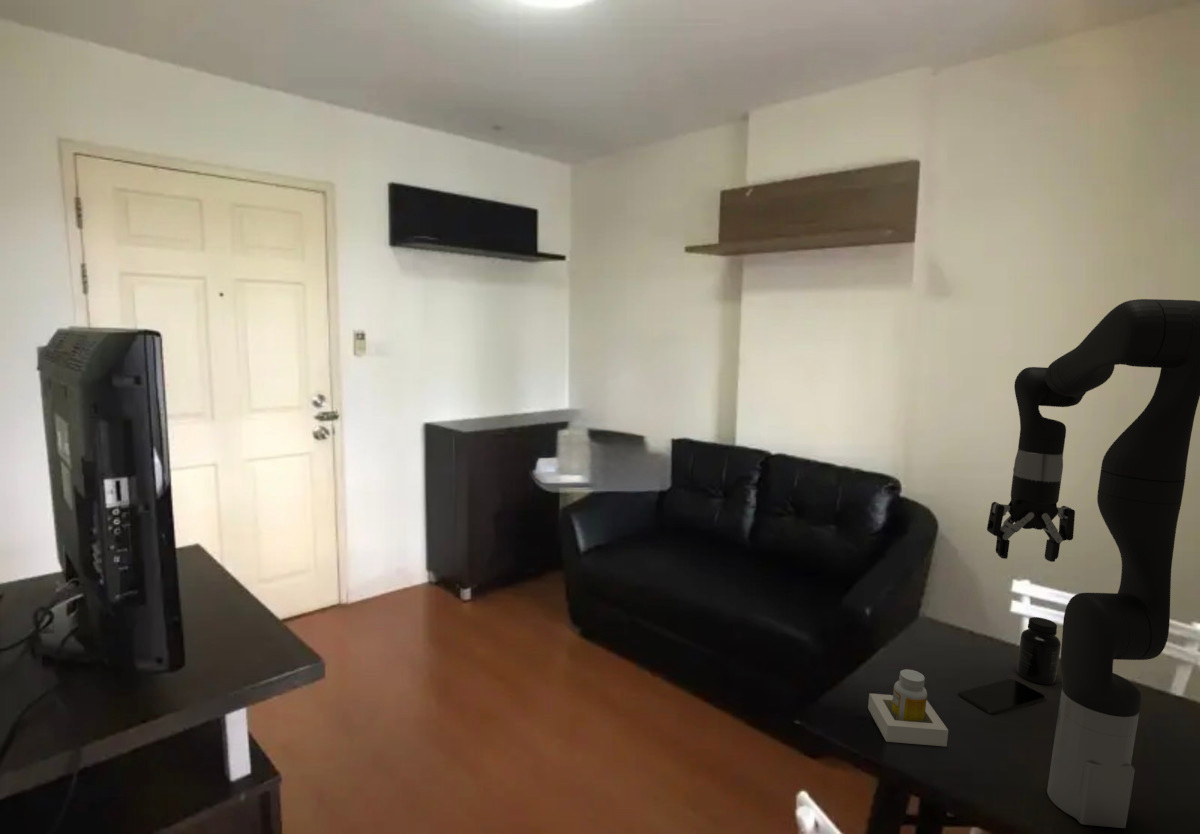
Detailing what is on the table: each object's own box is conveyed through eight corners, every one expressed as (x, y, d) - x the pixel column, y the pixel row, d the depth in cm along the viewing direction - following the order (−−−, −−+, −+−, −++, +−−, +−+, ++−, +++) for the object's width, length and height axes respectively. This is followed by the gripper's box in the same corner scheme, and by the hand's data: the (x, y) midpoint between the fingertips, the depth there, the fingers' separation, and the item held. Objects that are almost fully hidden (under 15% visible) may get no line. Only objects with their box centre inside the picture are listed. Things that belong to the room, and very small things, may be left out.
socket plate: (946, 746, 114) (948, 730, 113) (886, 741, 114) (887, 725, 114) (923, 712, 124) (925, 697, 123) (868, 708, 124) (869, 693, 124)
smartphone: (991, 718, 123) (1048, 701, 129) (992, 713, 123) (1049, 696, 129) (954, 696, 130) (1009, 681, 137) (954, 692, 130) (1010, 676, 136)
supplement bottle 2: (1045, 670, 141) (1052, 616, 139) (1062, 687, 134) (1070, 631, 132) (1010, 666, 142) (1017, 613, 140) (1025, 683, 135) (1033, 627, 133)
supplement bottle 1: (884, 723, 119) (889, 673, 118) (899, 712, 123) (904, 664, 121) (914, 738, 115) (920, 686, 114) (928, 726, 119) (934, 676, 117)
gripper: (1007, 477, 120) (996, 563, 123) (1090, 482, 119) (1078, 568, 122) (987, 468, 128) (977, 549, 130) (1065, 472, 127) (1053, 554, 129)
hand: (1026, 558), depth 126 cm, fingers open, 8 cm apart
